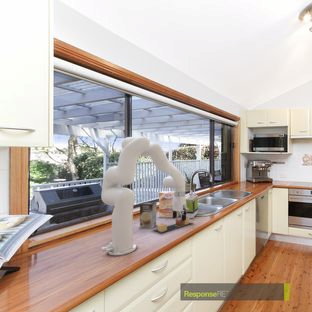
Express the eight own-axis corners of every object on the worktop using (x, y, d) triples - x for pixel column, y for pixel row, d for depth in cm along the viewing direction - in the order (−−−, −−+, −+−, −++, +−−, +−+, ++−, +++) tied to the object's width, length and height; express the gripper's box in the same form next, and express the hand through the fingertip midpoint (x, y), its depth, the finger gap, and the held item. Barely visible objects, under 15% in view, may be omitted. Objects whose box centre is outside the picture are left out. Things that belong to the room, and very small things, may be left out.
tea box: (186, 213, 183) (186, 195, 183) (198, 213, 182) (198, 195, 182) (180, 218, 168) (180, 199, 168) (193, 218, 167) (193, 199, 167)
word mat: (161, 234, 132) (161, 227, 132) (152, 231, 138) (152, 224, 138) (194, 224, 153) (194, 218, 153) (184, 221, 159) (184, 215, 159)
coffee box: (139, 228, 144) (139, 204, 144) (144, 225, 151) (144, 202, 151) (152, 228, 143) (152, 204, 143) (156, 225, 150) (156, 202, 150)
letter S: (179, 226, 147) (179, 220, 147) (175, 225, 149) (175, 219, 149) (184, 225, 150) (184, 219, 150) (180, 223, 152) (180, 218, 152)
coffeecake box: (158, 217, 170) (158, 192, 170) (162, 215, 177) (162, 191, 177) (177, 217, 170) (177, 192, 170) (180, 215, 177) (180, 191, 177)
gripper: (167, 193, 152) (166, 218, 151) (183, 196, 141) (182, 222, 140) (176, 192, 157) (175, 216, 157) (192, 194, 147) (191, 220, 146)
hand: (179, 219), depth 149 cm, fingers open, 9 cm apart
